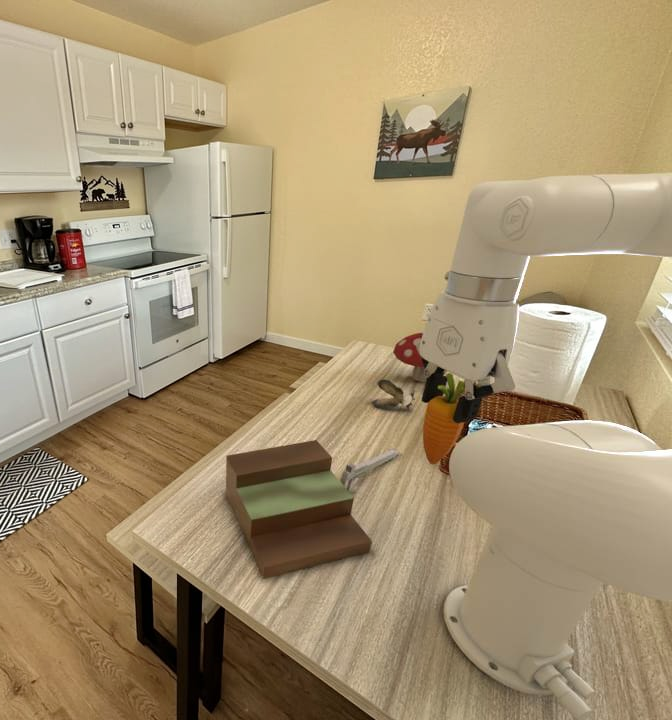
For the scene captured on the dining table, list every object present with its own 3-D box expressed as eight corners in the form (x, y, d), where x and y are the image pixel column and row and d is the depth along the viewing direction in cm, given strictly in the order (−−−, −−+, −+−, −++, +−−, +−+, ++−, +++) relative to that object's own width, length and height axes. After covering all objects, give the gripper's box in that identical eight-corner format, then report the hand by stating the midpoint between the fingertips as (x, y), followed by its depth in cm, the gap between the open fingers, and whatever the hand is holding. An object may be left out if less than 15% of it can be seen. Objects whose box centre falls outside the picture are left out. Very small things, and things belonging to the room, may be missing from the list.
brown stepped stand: (369, 552, 61) (379, 509, 57) (263, 578, 57) (267, 534, 53) (311, 476, 77) (316, 439, 73) (225, 493, 73) (226, 455, 69)
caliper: (342, 497, 71) (347, 470, 69) (337, 494, 72) (342, 467, 70) (398, 454, 82) (404, 430, 80) (393, 451, 83) (399, 427, 81)
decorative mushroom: (455, 398, 103) (470, 346, 97) (390, 389, 109) (400, 339, 103) (443, 373, 117) (456, 326, 111) (386, 366, 122) (395, 321, 116)
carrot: (450, 478, 57) (478, 389, 51) (412, 467, 59) (434, 380, 53) (450, 460, 60) (476, 374, 54) (415, 450, 63) (436, 367, 57)
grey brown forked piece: (410, 396, 102) (375, 385, 105) (420, 384, 96) (383, 372, 99) (404, 421, 99) (368, 408, 102) (414, 409, 93) (376, 396, 96)
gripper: (407, 276, 56) (384, 387, 63) (525, 307, 40) (477, 449, 48) (450, 273, 57) (423, 382, 64) (579, 301, 42) (525, 440, 49)
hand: (447, 409), depth 56 cm, fingers closed on carrot, 5 cm apart
